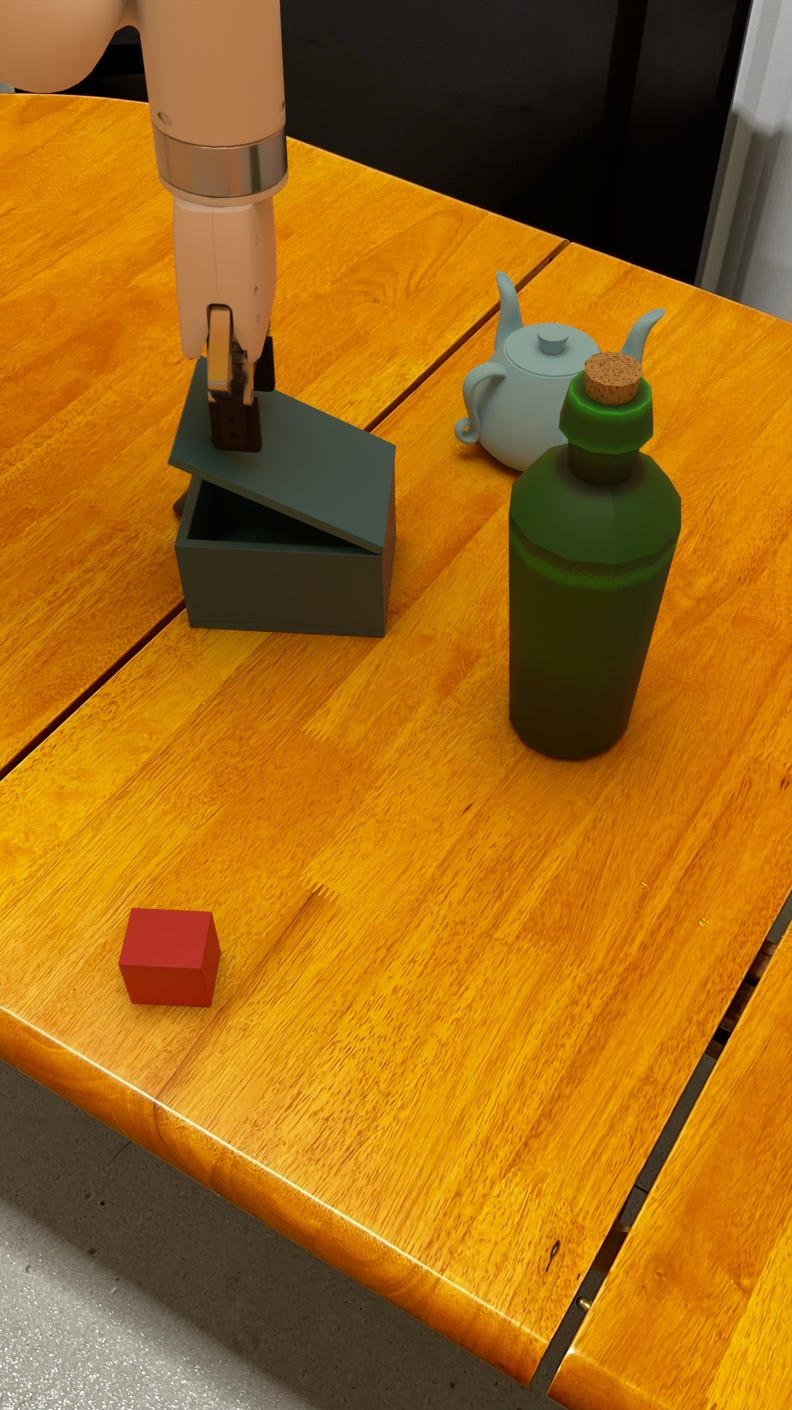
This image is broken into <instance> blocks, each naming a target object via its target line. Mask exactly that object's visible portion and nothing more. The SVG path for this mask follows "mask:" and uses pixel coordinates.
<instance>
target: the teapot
mask: <svg viewBox="0 0 792 1410" xmlns="http://www.w3.org/2000/svg"><path fill="white" fill-rule="evenodd" d="M495 282H496V285H497V288H498V292H499V301H500V303H499V315H498V321H497V325H496V330H495V335H494V341H493V342H494V343H493V354H492V355H491V356H489V359H488V360H487V361H486V362H484V363H481V364H479V365H477V366H475V367H473V368H472V369H471V370H469V372H468V373H467V374H466V375H465V377H464V379H463V382H462V387H461V388H462V391H461V392H462V398H463V404H464V406H465V410H466V414H467V416H468V417H462V418H459V420H457V422H456V423H455V425H454V428H453V433H454V436H455V439H456V440H457V441H458V442H460V443H461V444H465V445H472V444H475V443H477V442H479V443H480V445H481V447H483V449H484V450H486V451H487V452H488V453H489V454H490V455H491V456H492V457H493V458H494V459H496V460H497V461H498V462H500V463H501V464H503V465H504V466H507V467H508V468H510V469H513V470H515V471H518V472H522V473H523V472H524V471H525V470H526V469H527V468H528V467H529V466H530V465H531V464H532V463H533V462H535V461H536V460H537V459H538V458H539V457H540V456H541V455H542V454H544V453H545V452H546V451H547V450H548V449H549V448H551V447H555V446H559V445H563V444H567V443H568V439H567V438H566V437H565V435H564V434H563V433H562V432H561V430H560V429H559V419H560V412H561V409H562V406H563V403H564V400H565V397H566V393H567V390H568V387H569V384H570V381H571V380H572V379H573V378H574V377H575V376H576V375H577V374H579V373H580V372H581V371H582V370H584V367H585V361H586V360H588V359H589V358H590V357H591V356H592V355H594V354H598V353H602V352H603V351H602V349H601V348H600V347H599V345H598V343H596V341H595V340H594V339H593V338H592V337H591V336H590V335H589V334H587V333H586V332H584V331H582V330H580V329H578V328H576V327H574V326H571V325H567V324H563V323H559V322H541V323H534V324H529V325H526V326H524V323H523V318H522V317H523V316H522V313H521V308H520V303H519V299H518V293H517V290H516V286H515V285H514V283H513V280H512V279H511V278H510V276H509V275H508V274H507V273H506V272H504V271H502V270H498V271H496V273H495ZM665 314H666V309H665V308H656V309H652V310H650V311H648V312H646V313H645V314H643V315H642V316H640V317H639V318H638V319H637V320H636V321H635V323H634V324H633V326H632V327H631V328H630V331H629V332H628V335H627V337H626V338H625V341H624V344H623V345H622V348H621V349H620V351H619V353H624V354H626V355H629V356H631V357H633V358H635V359H636V360H637V361H638V362H639V363H640V364H641V365H642V366H643V359H644V352H645V346H646V342H647V339H648V337H649V336H650V335H649V334H650V332H651V331H652V329H653V328H654V326H655V325H656V324H657V323H659V321H660V320H661V319H662V318H663V317H664V316H665ZM466 428H468V429H467V430H465V429H466Z"/></svg>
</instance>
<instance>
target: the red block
mask: <svg viewBox="0 0 792 1410" xmlns="http://www.w3.org/2000/svg"><path fill="white" fill-rule="evenodd" d="M214 919H215V918H214V916H213V911H205V910H185V909H183V910H182V909H166V908H165V909H164V908H163V909H162V908H145V907H131V908H130V912H129V916H128V920H127V925H126V929H125V932H124V938H123V940H122V946H121V951H120V955H119V959H118V963H117V965H118V966H117V967H118V968H119V971H120V974H121V977H122V980H123V982H124V985H125V988H126V991H127V994H128V998H129V1000H130V1002H131V1003H132V1004H141V1005H143V1004H145V1005H166V1006H184V1007H186V1006H187V1007H205V1008H207V1007H208V1008H211V1007H212V1003H213V997H214V992H215V987H216V981H217V976H218V971H219V970H218V969H219V964H220V960H221V954H222V950H221V946H220V942H219V937H218V933H217V928H216V924H215V920H214Z"/></svg>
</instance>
